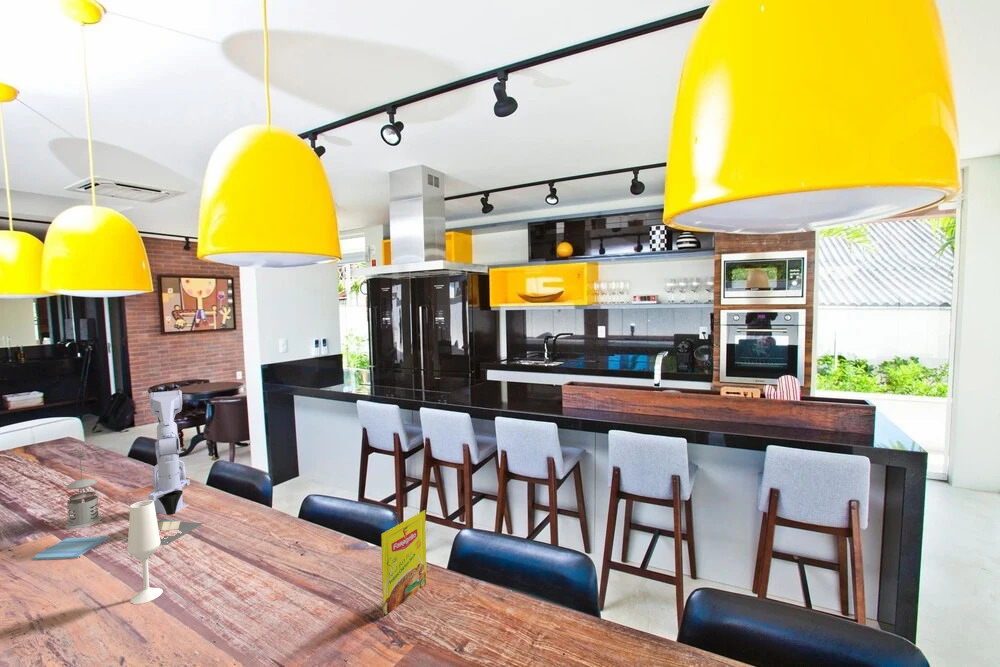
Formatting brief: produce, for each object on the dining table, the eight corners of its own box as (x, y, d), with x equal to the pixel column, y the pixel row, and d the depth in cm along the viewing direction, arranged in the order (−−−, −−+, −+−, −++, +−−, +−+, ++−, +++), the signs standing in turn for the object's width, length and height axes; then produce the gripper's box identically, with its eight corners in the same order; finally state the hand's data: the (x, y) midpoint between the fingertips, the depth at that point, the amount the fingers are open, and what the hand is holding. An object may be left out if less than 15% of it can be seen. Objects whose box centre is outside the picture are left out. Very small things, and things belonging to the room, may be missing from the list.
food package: (385, 617, 109) (382, 534, 108) (381, 616, 109) (379, 533, 109) (428, 584, 122) (426, 510, 121) (425, 583, 122) (423, 509, 122)
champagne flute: (123, 600, 117) (118, 507, 116) (151, 585, 123) (147, 497, 122) (141, 606, 114) (136, 510, 113) (169, 590, 121) (164, 500, 120)
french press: (64, 532, 155) (59, 458, 154) (65, 520, 164) (61, 450, 163) (102, 523, 162) (98, 452, 160) (102, 512, 170) (98, 445, 169)
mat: (121, 543, 146) (121, 542, 146) (162, 522, 161) (162, 520, 161) (166, 546, 144) (166, 544, 144) (203, 524, 159) (203, 523, 159)
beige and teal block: (162, 528, 155) (144, 529, 149) (164, 520, 156) (147, 520, 150) (178, 529, 155) (161, 530, 148) (180, 520, 156) (163, 521, 149)
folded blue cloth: (31, 561, 137) (30, 557, 137) (67, 541, 149) (67, 537, 149) (77, 560, 138) (77, 555, 138) (110, 540, 150) (110, 536, 150)
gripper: (161, 482, 147) (163, 524, 148) (196, 467, 161) (198, 505, 162) (141, 481, 148) (143, 523, 149) (178, 466, 162) (180, 504, 163)
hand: (170, 513), depth 155 cm, fingers closed
